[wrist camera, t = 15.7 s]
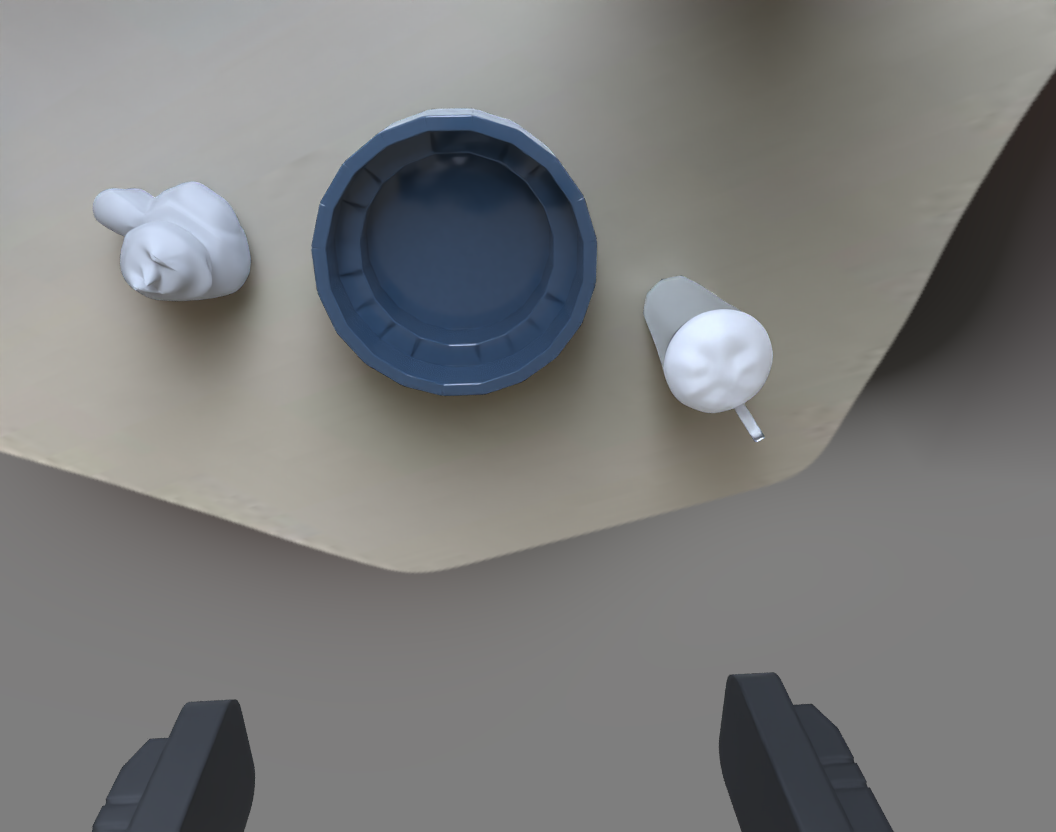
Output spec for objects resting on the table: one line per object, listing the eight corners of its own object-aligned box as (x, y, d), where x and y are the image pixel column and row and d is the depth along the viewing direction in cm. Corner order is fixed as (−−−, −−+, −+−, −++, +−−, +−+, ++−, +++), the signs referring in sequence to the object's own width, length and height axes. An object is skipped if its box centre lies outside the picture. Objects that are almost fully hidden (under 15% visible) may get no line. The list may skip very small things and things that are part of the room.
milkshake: (658, 374, 41) (709, 465, 32) (615, 289, 39) (657, 359, 30) (736, 335, 40) (811, 415, 31) (697, 245, 38) (766, 304, 29)
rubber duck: (229, 313, 38) (170, 373, 31) (102, 233, 36) (7, 277, 29) (285, 225, 36) (236, 266, 29) (155, 136, 34) (68, 156, 27)
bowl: (318, 110, 34) (293, 117, 30) (584, 105, 35) (600, 112, 30) (348, 360, 39) (331, 400, 35) (580, 352, 40) (593, 391, 35)
